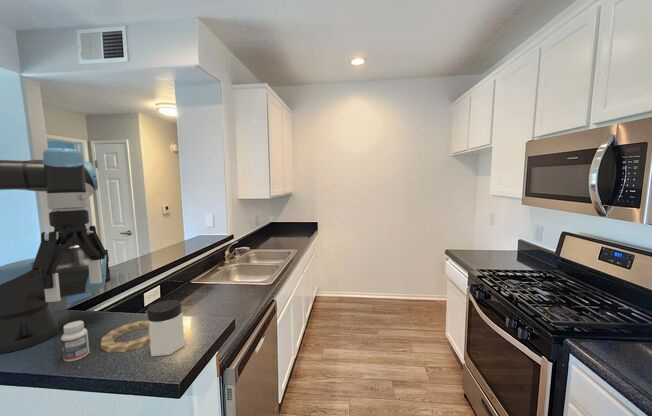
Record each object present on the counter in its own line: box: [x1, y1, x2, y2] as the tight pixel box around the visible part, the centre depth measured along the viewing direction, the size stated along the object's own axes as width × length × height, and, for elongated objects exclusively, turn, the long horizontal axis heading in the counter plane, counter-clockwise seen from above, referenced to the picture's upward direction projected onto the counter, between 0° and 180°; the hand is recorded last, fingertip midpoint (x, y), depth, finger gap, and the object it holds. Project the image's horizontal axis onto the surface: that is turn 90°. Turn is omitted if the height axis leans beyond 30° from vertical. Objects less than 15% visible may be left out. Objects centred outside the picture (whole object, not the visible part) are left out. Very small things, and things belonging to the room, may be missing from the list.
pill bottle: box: [60, 320, 90, 362], centre depth 75 cm, size 5×5×9 cm
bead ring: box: [100, 320, 150, 354], centre depth 84 cm, size 15×15×2 cm
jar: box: [146, 299, 185, 357], centre depth 78 cm, size 9×8×12 cm
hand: (76, 291), depth 73 cm, fingers open, 13 cm apart
